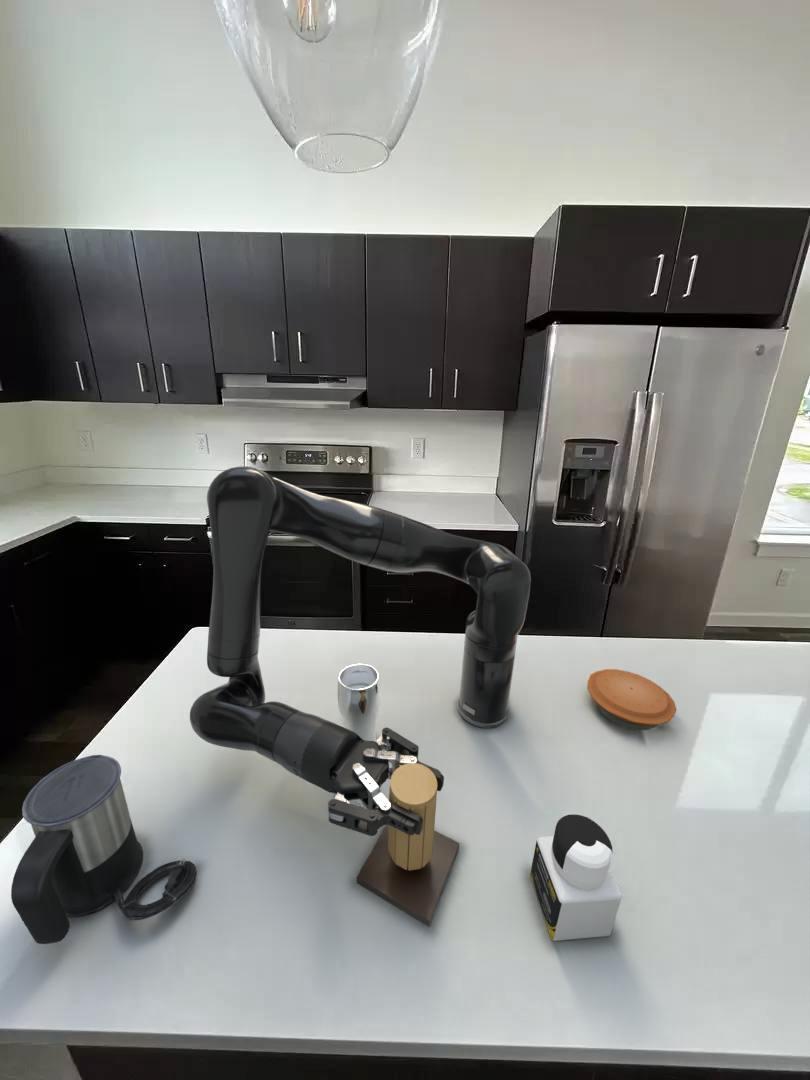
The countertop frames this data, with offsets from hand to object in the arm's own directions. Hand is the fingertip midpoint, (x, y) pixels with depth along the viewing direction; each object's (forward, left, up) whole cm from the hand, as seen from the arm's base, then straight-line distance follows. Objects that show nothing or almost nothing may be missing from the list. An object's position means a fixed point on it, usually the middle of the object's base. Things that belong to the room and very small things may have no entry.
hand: (432, 803), depth 50 cm
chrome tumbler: (-13, -19, -13) cm, 26 cm away
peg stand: (0, -3, -13) cm, 13 cm away
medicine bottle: (-5, +16, -13) cm, 21 cm away
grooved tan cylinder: (0, -3, -9) cm, 9 cm away
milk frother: (+18, -33, -13) cm, 39 cm away
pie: (-46, +22, -13) cm, 53 cm away
